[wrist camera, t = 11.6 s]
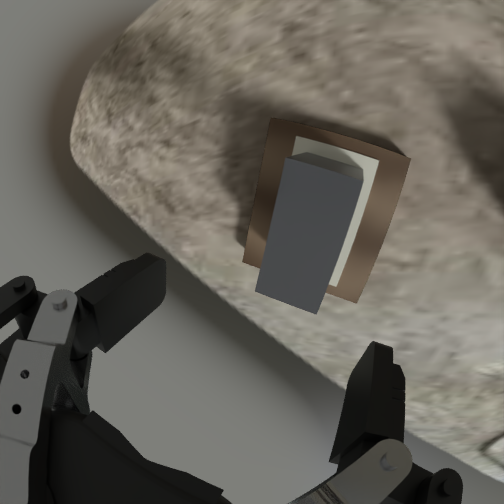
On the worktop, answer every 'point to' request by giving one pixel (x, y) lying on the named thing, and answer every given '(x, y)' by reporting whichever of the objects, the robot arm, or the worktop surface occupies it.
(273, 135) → the board
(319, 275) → the block
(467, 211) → the worktop surface
